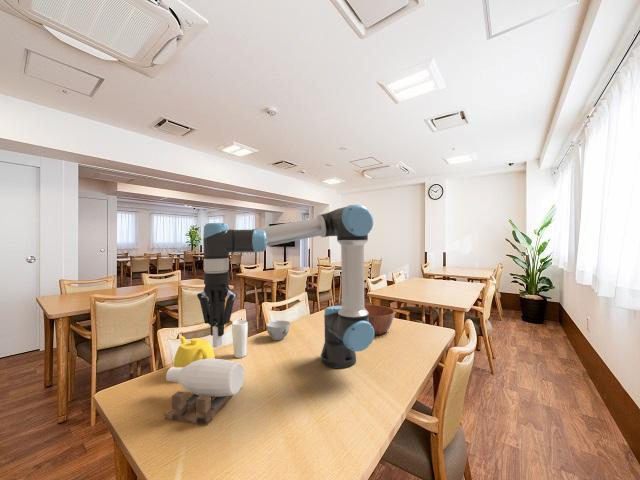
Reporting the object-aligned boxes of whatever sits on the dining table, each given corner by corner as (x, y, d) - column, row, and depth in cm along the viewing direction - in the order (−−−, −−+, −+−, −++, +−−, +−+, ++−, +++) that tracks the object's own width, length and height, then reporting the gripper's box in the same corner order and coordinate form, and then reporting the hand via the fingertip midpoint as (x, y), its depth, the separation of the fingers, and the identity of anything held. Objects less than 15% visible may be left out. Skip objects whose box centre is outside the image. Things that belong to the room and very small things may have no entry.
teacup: (295, 337, 143) (295, 322, 143) (277, 345, 134) (277, 328, 134) (276, 331, 153) (276, 317, 153) (258, 338, 143) (258, 323, 143)
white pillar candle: (243, 359, 118) (243, 325, 118) (229, 358, 119) (229, 324, 119) (250, 353, 124) (250, 320, 124) (237, 352, 125) (236, 319, 125)
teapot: (188, 385, 97) (188, 350, 97) (163, 369, 109) (163, 338, 109) (222, 370, 108) (222, 338, 108) (196, 357, 120) (196, 329, 120)
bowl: (400, 338, 141) (399, 316, 141) (352, 338, 142) (352, 316, 142) (388, 323, 166) (388, 304, 166) (348, 323, 167) (347, 305, 167)
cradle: (241, 388, 95) (241, 368, 95) (207, 425, 76) (207, 400, 76) (206, 383, 98) (206, 364, 98) (164, 418, 79) (164, 394, 79)
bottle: (226, 405, 79) (156, 398, 86) (246, 391, 90) (182, 385, 96) (227, 365, 81) (158, 361, 87) (246, 355, 91) (184, 352, 98)
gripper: (241, 270, 88) (242, 342, 88) (205, 270, 91) (206, 340, 91) (228, 273, 81) (229, 352, 81) (190, 272, 84) (191, 348, 84)
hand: (217, 345), depth 86 cm, fingers closed
